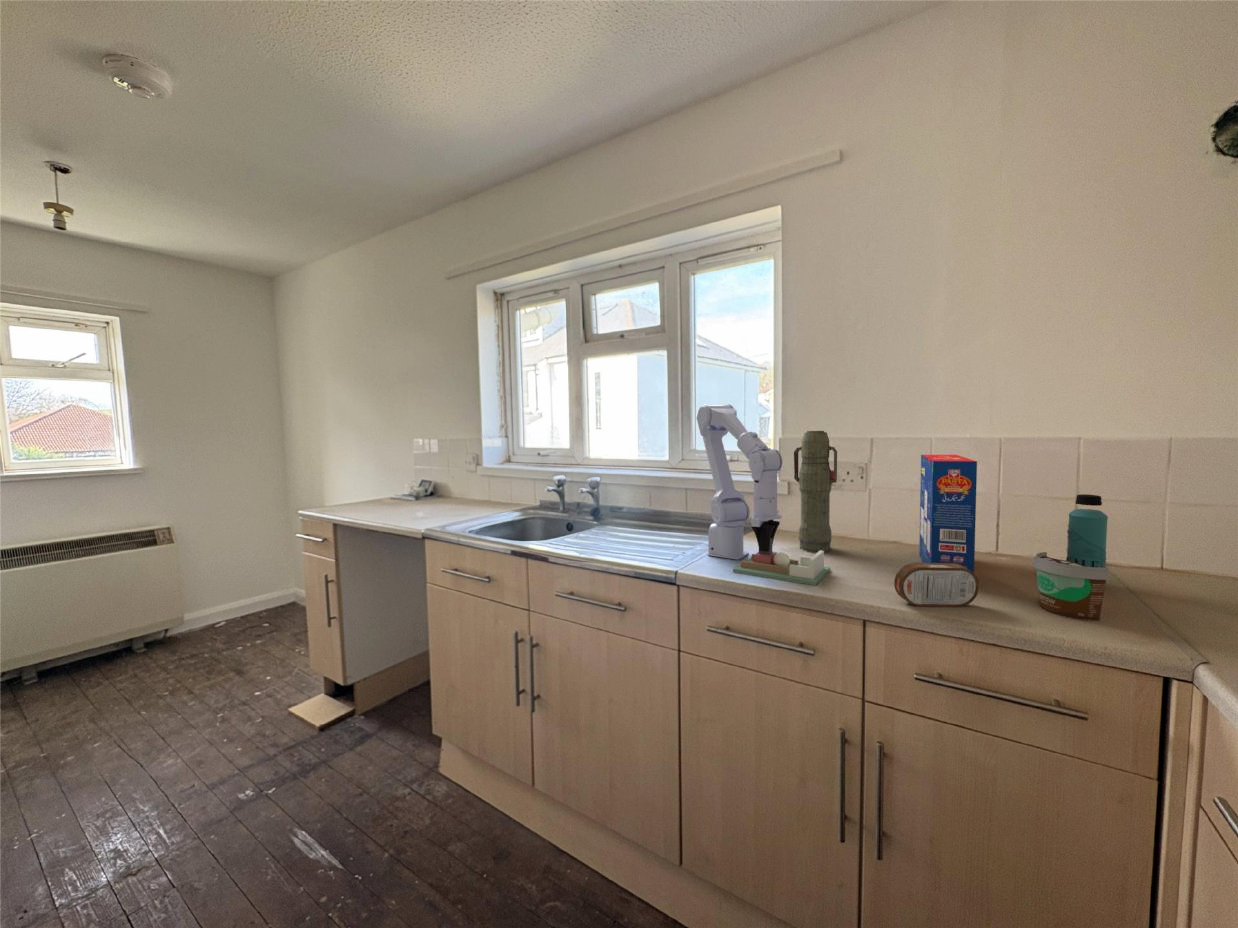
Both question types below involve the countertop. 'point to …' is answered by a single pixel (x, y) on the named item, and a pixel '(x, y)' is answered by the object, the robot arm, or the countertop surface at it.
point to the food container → (1070, 587)
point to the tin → (936, 584)
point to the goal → (808, 566)
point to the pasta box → (948, 510)
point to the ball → (781, 559)
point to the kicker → (765, 556)
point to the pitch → (776, 571)
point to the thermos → (815, 490)
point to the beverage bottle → (1087, 533)
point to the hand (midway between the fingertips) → (765, 549)
